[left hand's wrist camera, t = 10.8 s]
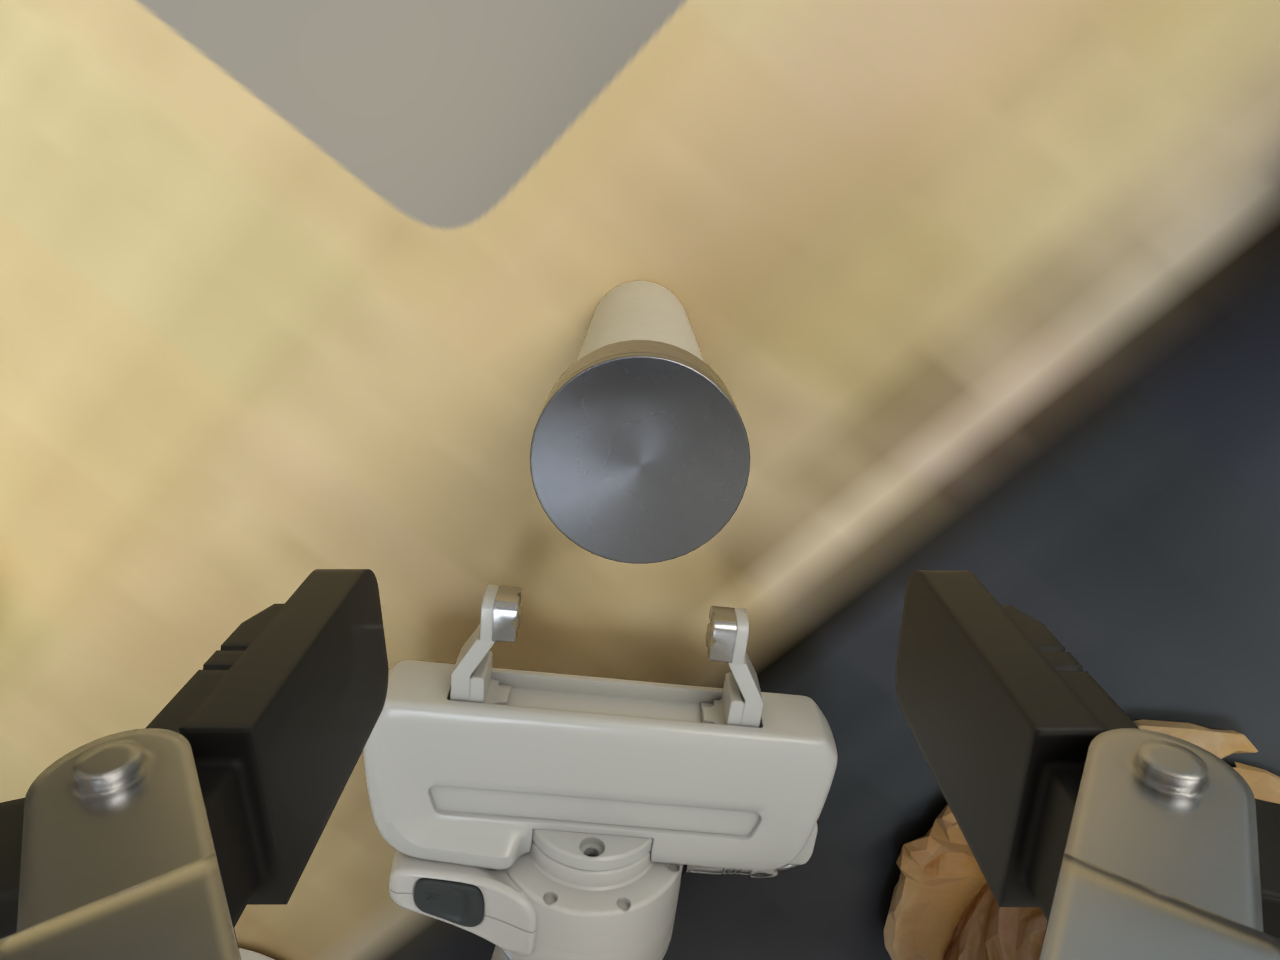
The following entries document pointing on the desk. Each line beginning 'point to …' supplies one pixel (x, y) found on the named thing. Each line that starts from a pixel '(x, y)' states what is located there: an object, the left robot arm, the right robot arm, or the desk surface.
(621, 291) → the beige tapered cylinder
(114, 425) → the desk surface
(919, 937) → the sculpture
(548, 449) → the lid
